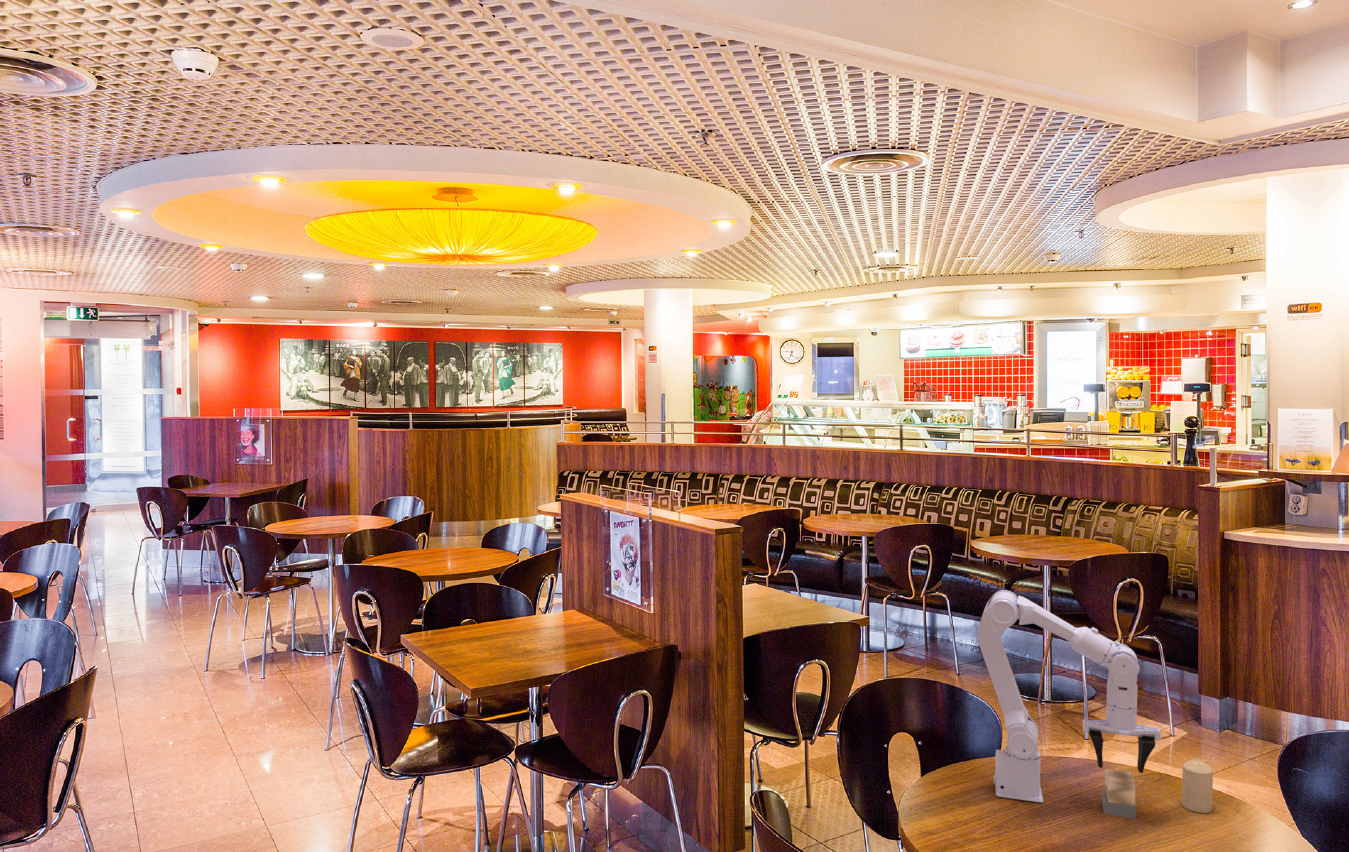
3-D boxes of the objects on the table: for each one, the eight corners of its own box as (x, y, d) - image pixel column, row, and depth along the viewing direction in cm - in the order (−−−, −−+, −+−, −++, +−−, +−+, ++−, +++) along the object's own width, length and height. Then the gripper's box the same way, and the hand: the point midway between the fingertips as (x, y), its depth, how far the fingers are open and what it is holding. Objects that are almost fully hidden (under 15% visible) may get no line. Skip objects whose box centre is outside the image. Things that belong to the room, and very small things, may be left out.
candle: (1216, 814, 182) (1217, 767, 182) (1187, 812, 183) (1188, 765, 183) (1205, 802, 187) (1207, 757, 187) (1177, 800, 188) (1178, 754, 188)
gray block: (1103, 815, 182) (1103, 801, 182) (1102, 803, 188) (1102, 789, 188) (1136, 821, 180) (1136, 807, 180) (1133, 808, 185) (1133, 794, 185)
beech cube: (1108, 802, 182) (1108, 778, 182) (1104, 791, 187) (1105, 768, 186) (1135, 805, 180) (1135, 782, 180) (1130, 795, 185) (1131, 772, 185)
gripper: (1086, 706, 181) (1084, 771, 182) (1164, 715, 177) (1162, 781, 177) (1081, 696, 188) (1080, 757, 189) (1157, 703, 184) (1155, 767, 184)
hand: (1120, 768), depth 183 cm, fingers open, 7 cm apart
